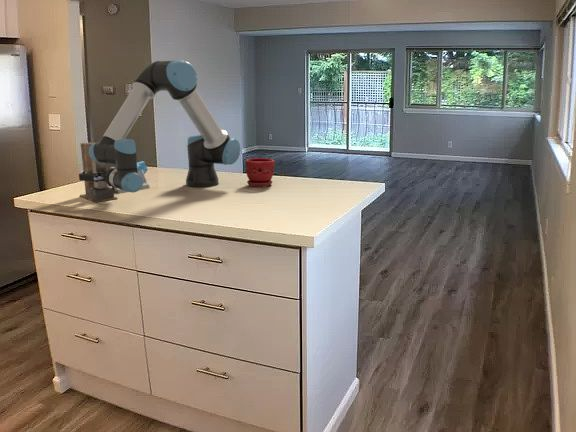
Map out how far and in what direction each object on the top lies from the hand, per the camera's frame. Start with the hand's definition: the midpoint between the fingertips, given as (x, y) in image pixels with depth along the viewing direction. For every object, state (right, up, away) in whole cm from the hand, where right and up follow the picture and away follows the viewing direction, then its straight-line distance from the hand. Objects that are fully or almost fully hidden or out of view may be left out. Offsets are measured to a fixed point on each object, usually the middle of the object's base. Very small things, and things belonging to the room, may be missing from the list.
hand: (96, 172), depth 237 cm
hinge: (+9, -7, +19) cm, 22 cm away
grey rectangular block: (+2, -11, 0) cm, 11 cm away
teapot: (+3, -2, +40) cm, 40 cm away
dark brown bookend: (0, -11, +3) cm, 11 cm away
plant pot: (+67, -4, +25) cm, 72 cm away
